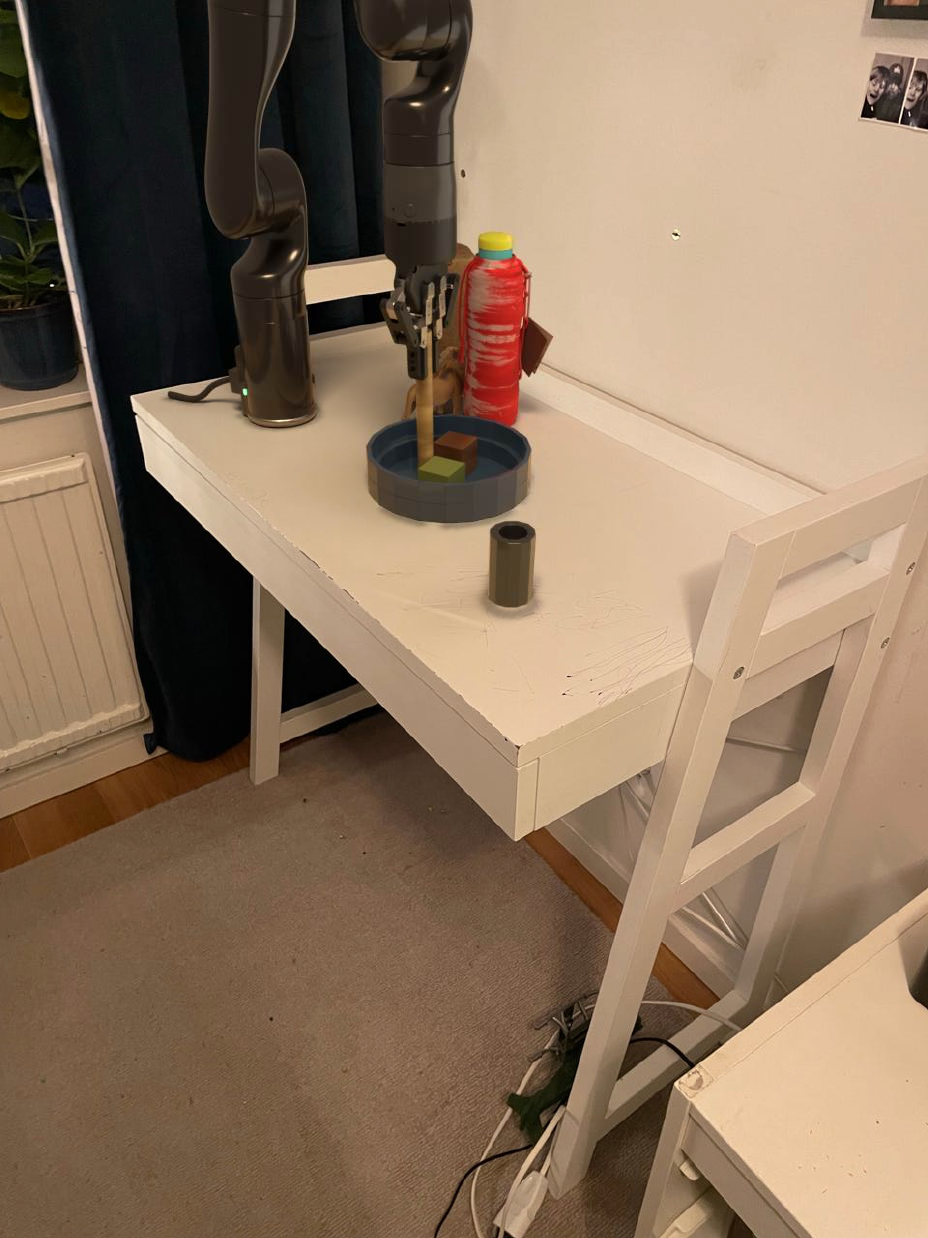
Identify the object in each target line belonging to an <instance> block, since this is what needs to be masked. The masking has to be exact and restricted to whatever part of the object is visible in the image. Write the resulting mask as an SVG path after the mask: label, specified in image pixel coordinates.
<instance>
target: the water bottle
mask: <svg viewBox="0 0 928 1238" xmlns="http://www.w3.org/2000/svg"><path fill="white" fill-rule="evenodd" d="M514 241H515V240H514V236H513V235H512V234H510V233H508V232H502V231H486V232H484V233H480V234H479V235H478V238H477V247H478V249H477V250H478V252H476V253H474V255H475V256H474V259H473V260H472V261H471V262H470V263H468V264H467V266H466V268H465V270H464V272H463V276H462V280H461V285H460V297H459V309H458V323H459V337H460V340H461V345H460V347H459V351H458V361H461V363H464V357H463V350H464V347H465V346H466V367H465V379H464V391H463V397H462V399H463V413H464V414H463V415H469V416H478V417H482V418H486V419H491V420H495V421H498V422H501V423H503V424H506V425H508V426H510V427H512V426H513V425H514V423H515V421H516V418H517V416H518V413H519V403H520V402H519V401H520V381H521V380H522V379H523V372H524V374H525V375H526V376H527V377H528V378H530V377H531V375H532V374H534V375H535V374H536V373H537V371H538V368H539V367H540V365H541V363H542V361H543V358H544V356H545V354H546V352H547V350H548V348H549V347H550V345H551V342H552V341H553V338H554V335H553V334H551V333H550V332H549V331H548V330H546V329H545V328H544V327H542V326H541V325H540V324H539V323H538V322H536V321H535V320H534V319H532V317H530V308H531V289H532V288H531V287H532V280H531V279H532V277H533V276H532V275H533V272H531V271H529V270H528V268H527V267H526V265H524V263H523V261H522V259H520V258H518V257H517V255H516V254H515V253H514V252H513V248H514ZM466 272H467V273H466ZM465 274H466V281H465V294H464V313H463V330H462V336H461V301H462V289H463V282H464V278H465ZM465 325H466V345H465V343H464V335H465Z"/></svg>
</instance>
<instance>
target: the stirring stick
mask: <svg viewBox="0 0 928 1238" xmlns="http://www.w3.org/2000/svg"><path fill="white" fill-rule="evenodd" d="M415 330H416V333H417V335H418V327H417V328H415ZM426 346H427V347H428V377H427V378H426V379H425V380H423V381H421V380H416V379H415V383H416V408H415V410H416V411H415V412H416V415H415V416H416V417H417V455H418V469H419V468H420V467H421V466H422V465H424V464H425V463H426V462H428V461H429V460H430V459H432V458H433V457H434V447H433V415H434V406H433V376H432V330H431V329H429V328H427V345H426Z"/></svg>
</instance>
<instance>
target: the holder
mask: <svg viewBox="0 0 928 1238" xmlns="http://www.w3.org/2000/svg"><path fill="white" fill-rule="evenodd" d="M536 539H537V534H536V529H535V528H534V527H533V526H532V525H530V524H529V523H527V522H523V521H519V520H505V521H500V522H497V523H495V524H494V525H493V526H491V528H490V529H489V547H488V548H489V550H488V551H489V553H488V581H487V585H488V586H487V595H488V600H490V601H491V602H492V603H493V604H494V605H495V606H499V607H502V608H511V609H512V608H520V607H523V606H526V605H528V604H529V603H530V602H531V600H532V599H533V589H534V573H535V558H536V557H535V555H536V554H535V553H536V542H537V540H536Z"/></svg>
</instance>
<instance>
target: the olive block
mask: <svg viewBox="0 0 928 1238" xmlns="http://www.w3.org/2000/svg"><path fill="white" fill-rule="evenodd" d="M418 480H419V481H428V482H439V483H459V482H465V463H462V462H458V461H454V460H450V459H446V458H442V457H438V456H434V457H433V458H432V459H430V460H429V461H428V462H426V463H425V464H424V465H422V466H421V467H420V468H419V469H418Z"/></svg>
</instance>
